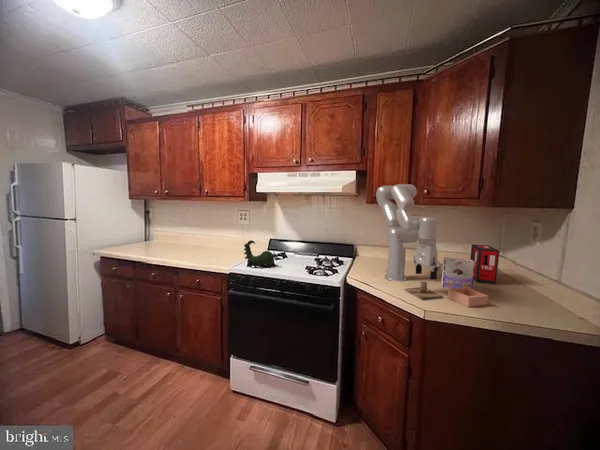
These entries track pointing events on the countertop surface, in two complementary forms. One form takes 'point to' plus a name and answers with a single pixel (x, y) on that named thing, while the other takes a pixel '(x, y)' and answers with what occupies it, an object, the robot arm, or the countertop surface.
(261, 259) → the toy figurine
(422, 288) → the lid
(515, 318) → the countertop surface
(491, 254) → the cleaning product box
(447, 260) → the candy box
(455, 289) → the pink square tray
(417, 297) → the grey flat piece
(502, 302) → the countertop surface
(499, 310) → the countertop surface
